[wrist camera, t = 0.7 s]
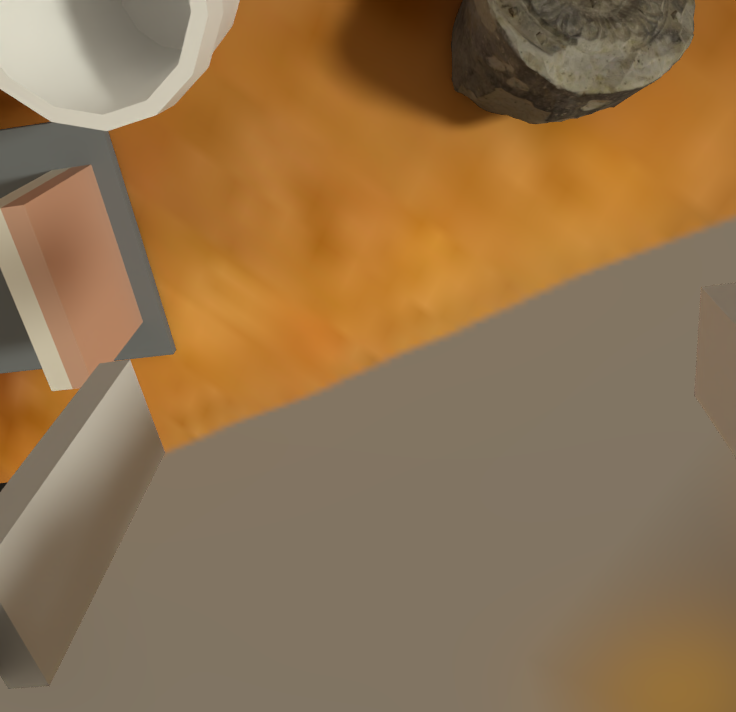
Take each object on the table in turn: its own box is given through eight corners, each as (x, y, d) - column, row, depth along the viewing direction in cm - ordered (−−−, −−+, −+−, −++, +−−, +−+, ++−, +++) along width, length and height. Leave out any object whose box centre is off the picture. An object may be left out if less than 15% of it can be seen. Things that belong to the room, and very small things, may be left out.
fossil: (690, -134, 32) (758, -14, 27) (636, 49, 40) (681, 171, 34) (451, -120, 33) (470, 1, 27) (444, 59, 40) (457, 181, 35)
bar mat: (-188, 158, 41) (-196, 160, 41) (102, 113, 39) (98, 115, 39) (-76, 377, 48) (-81, 382, 48) (176, 349, 46) (173, 354, 46)
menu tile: (51, 170, 40) (-24, 211, 33) (91, 164, 40) (23, 204, 33) (107, 326, 45) (51, 391, 38) (143, 321, 45) (93, 386, 38)
